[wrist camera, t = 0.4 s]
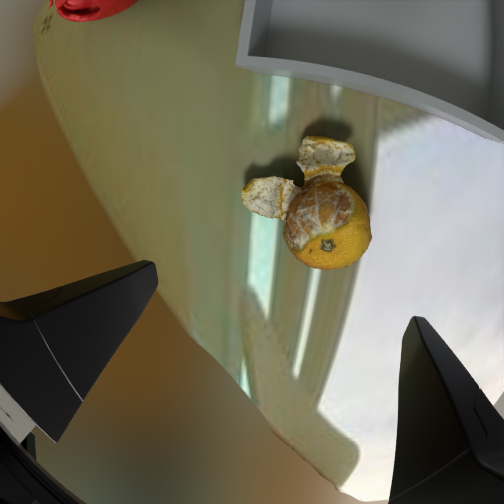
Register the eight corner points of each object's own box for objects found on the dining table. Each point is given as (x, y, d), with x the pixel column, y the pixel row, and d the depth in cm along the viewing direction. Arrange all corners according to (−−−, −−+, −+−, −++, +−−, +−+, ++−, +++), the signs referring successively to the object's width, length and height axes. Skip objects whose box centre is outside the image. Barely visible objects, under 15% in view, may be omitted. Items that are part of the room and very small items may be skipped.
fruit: (331, 120, 16) (332, 125, 13) (400, 223, 18) (411, 249, 15) (235, 191, 20) (216, 211, 17) (305, 276, 22) (299, 307, 19)
